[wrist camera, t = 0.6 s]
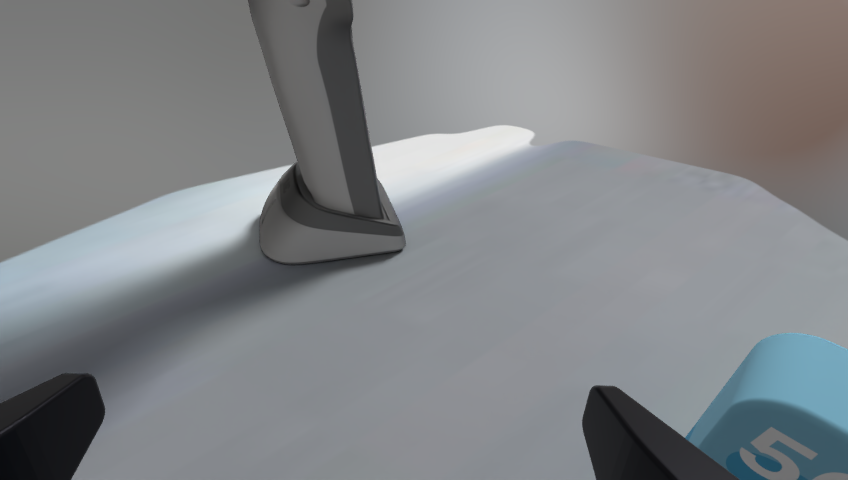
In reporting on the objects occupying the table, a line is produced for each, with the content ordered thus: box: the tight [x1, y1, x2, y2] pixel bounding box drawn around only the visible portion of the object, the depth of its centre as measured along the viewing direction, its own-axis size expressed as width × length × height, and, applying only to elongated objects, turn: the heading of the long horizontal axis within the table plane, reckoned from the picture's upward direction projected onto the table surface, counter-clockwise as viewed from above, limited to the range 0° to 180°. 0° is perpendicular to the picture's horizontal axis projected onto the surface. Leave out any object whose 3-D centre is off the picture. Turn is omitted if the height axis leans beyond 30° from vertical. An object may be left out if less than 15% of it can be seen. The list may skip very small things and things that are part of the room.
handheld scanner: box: [248, 0, 406, 265], centre depth 31 cm, size 12×13×35 cm
